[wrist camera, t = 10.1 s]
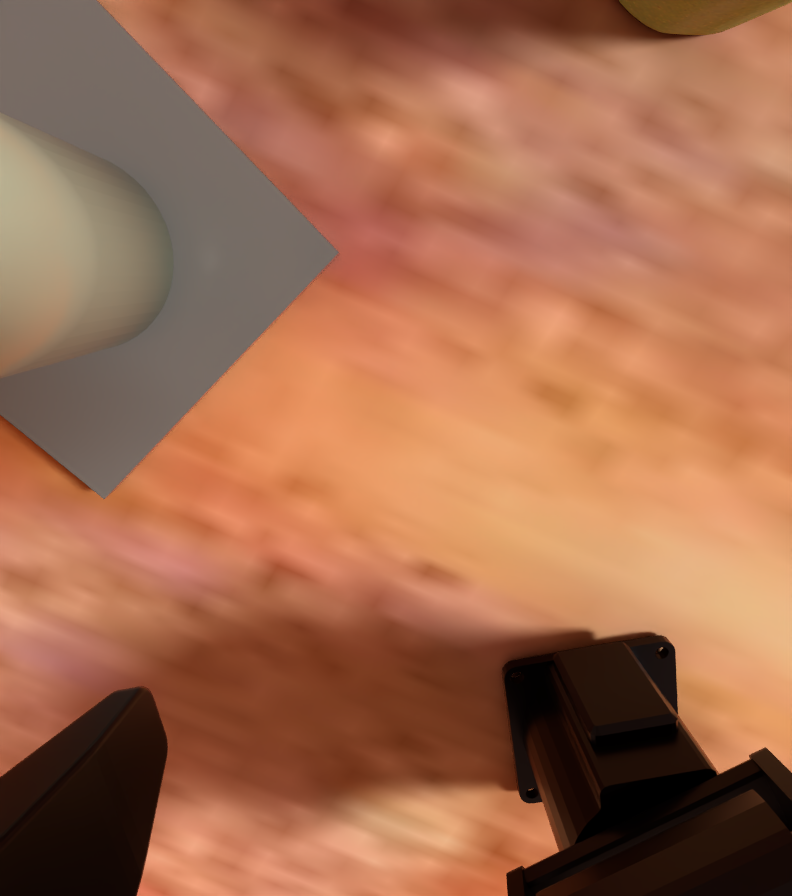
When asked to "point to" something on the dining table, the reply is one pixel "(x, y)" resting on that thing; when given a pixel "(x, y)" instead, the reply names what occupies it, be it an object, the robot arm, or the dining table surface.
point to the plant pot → (698, 14)
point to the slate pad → (189, 225)
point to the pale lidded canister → (73, 252)
